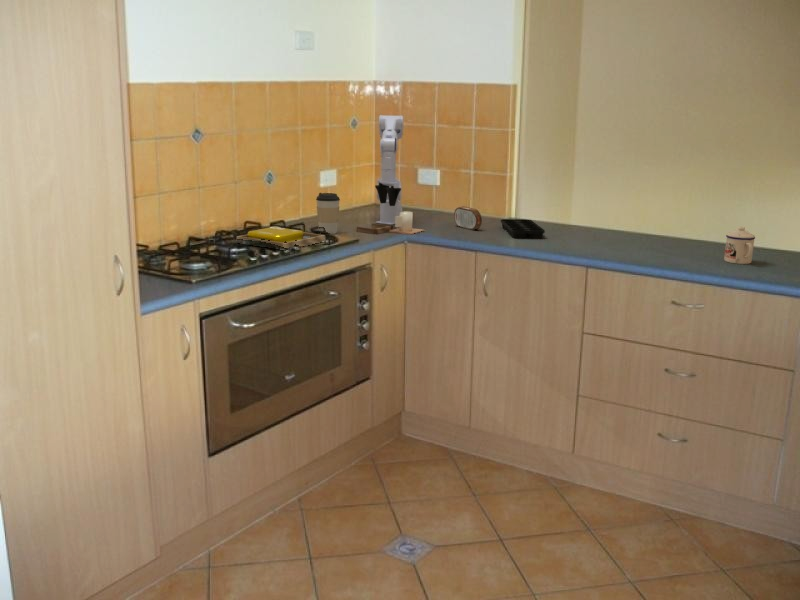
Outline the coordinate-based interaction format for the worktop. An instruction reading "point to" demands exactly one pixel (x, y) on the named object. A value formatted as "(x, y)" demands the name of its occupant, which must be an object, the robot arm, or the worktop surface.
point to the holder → (375, 229)
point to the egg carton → (522, 228)
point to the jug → (404, 221)
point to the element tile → (276, 234)
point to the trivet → (406, 231)
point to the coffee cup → (328, 211)
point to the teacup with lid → (739, 246)
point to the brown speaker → (468, 218)
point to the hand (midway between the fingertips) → (387, 204)
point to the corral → (303, 242)
